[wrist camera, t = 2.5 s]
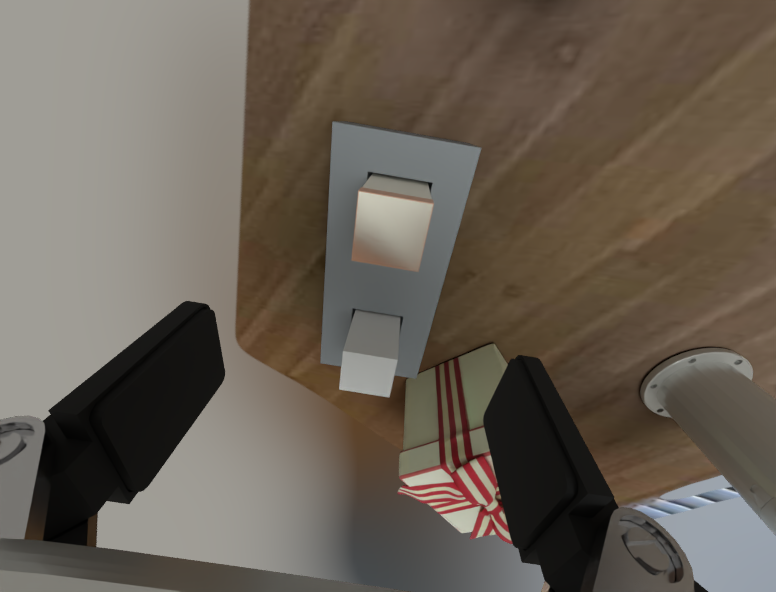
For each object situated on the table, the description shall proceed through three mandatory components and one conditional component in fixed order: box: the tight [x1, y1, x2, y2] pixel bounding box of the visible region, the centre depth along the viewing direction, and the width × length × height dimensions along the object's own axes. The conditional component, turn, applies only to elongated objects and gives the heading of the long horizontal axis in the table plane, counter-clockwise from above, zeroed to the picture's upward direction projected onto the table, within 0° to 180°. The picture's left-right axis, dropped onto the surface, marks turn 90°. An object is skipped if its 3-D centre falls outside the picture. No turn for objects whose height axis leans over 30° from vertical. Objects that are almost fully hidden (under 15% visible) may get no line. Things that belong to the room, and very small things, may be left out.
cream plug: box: [351, 172, 434, 272], centre depth 26 cm, size 5×5×12 cm
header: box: [320, 122, 481, 397], centre depth 30 cm, size 26×12×13 cm, turn 171°
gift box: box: [398, 344, 513, 544], centre depth 39 cm, size 17×18×17 cm
